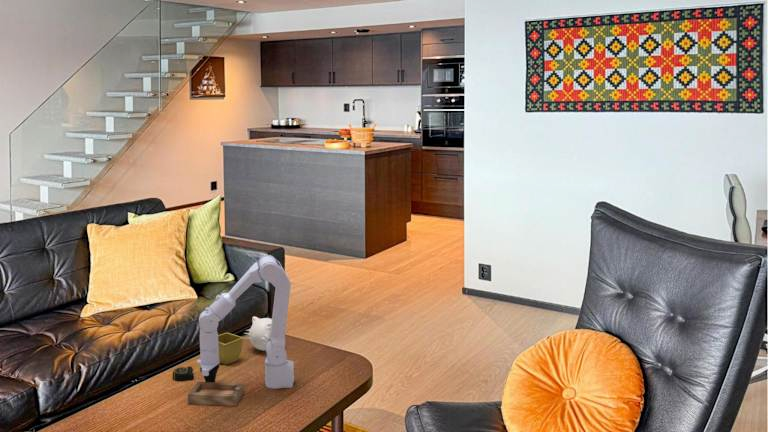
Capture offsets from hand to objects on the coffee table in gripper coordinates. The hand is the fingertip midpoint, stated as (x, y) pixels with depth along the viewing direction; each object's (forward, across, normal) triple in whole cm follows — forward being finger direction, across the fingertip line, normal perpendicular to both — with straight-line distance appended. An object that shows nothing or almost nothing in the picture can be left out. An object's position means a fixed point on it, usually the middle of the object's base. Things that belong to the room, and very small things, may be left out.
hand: (210, 387), depth 218 cm
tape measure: (+2, -11, -11) cm, 15 cm away
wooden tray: (+1, +6, +3) cm, 7 cm away
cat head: (+2, -36, +14) cm, 39 cm away
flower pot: (+2, -25, +1) cm, 25 cm away
